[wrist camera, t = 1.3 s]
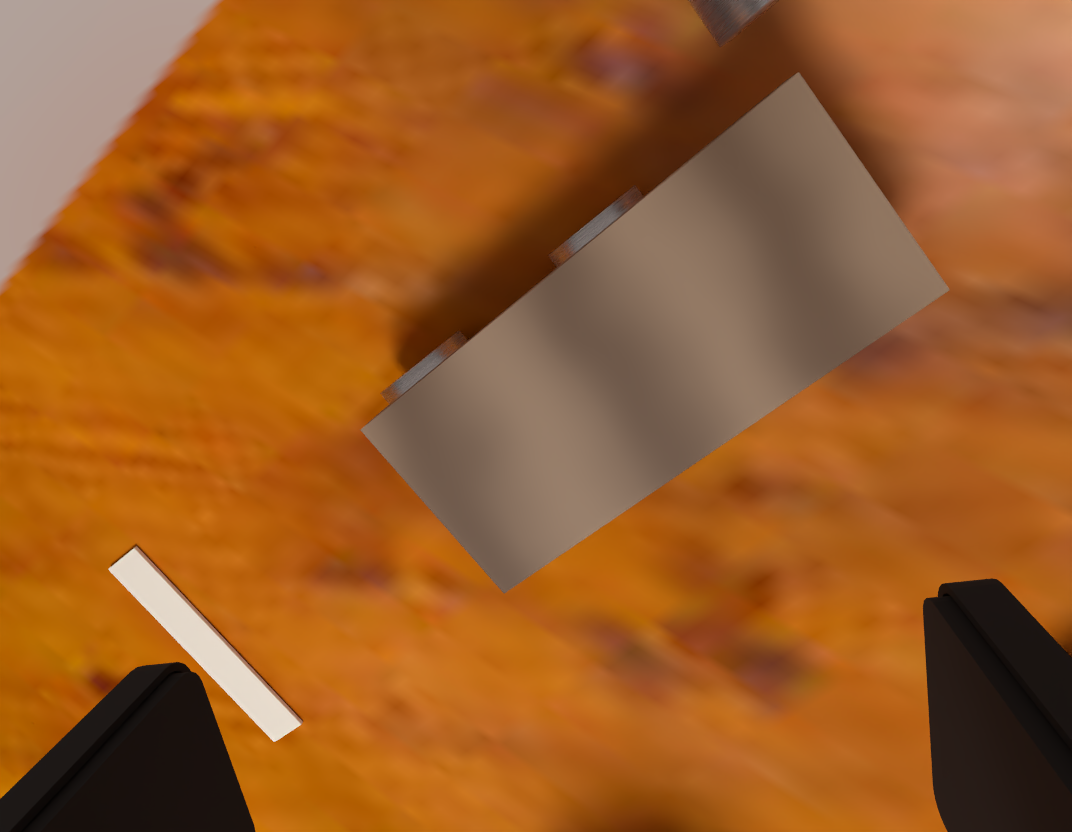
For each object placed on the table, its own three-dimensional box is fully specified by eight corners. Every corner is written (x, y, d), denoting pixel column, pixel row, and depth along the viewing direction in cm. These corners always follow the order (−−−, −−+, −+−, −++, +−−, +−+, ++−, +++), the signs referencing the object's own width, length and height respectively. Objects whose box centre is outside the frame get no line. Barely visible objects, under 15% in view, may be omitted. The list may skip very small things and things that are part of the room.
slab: (785, 81, 24) (798, 71, 22) (925, 281, 25) (949, 290, 23) (378, 413, 28) (360, 429, 27) (512, 567, 30) (504, 593, 28)
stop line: (136, 546, 36) (134, 548, 36) (303, 721, 38) (301, 724, 38) (110, 567, 37) (107, 569, 36) (276, 739, 39) (274, 742, 38)
